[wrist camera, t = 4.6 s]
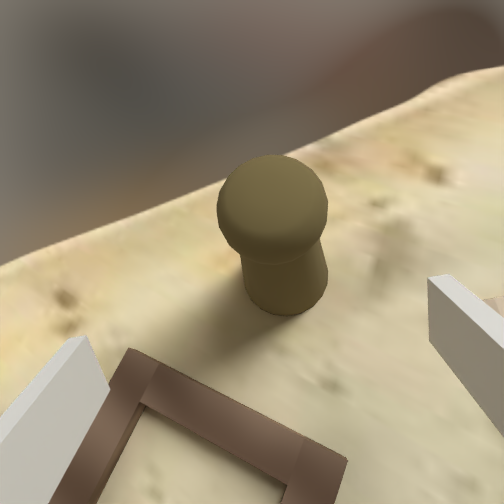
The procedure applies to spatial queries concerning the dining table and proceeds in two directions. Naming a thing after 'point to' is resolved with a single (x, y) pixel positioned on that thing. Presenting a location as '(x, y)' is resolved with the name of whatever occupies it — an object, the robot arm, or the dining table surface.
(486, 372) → the robot arm
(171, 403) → the cutout board
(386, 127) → the dining table surface
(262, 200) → the olive pawn
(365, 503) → the dining table surface
